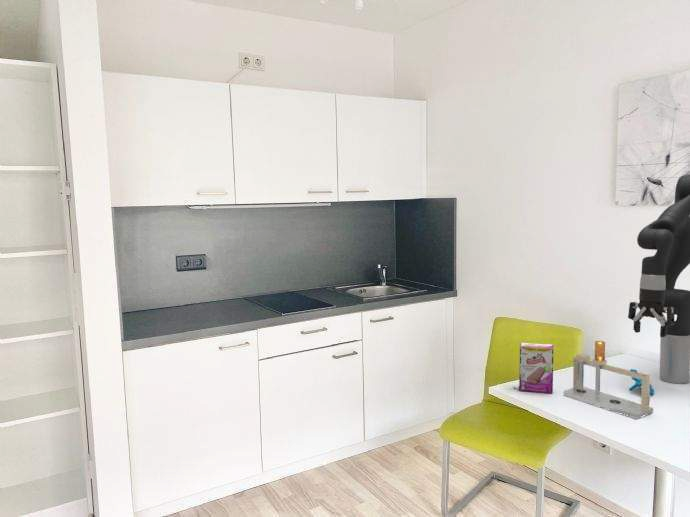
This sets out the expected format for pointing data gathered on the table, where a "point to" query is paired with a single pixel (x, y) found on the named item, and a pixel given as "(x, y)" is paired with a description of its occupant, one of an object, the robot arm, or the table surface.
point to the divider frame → (606, 399)
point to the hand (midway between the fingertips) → (649, 334)
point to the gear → (639, 383)
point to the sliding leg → (599, 362)
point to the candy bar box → (536, 368)
